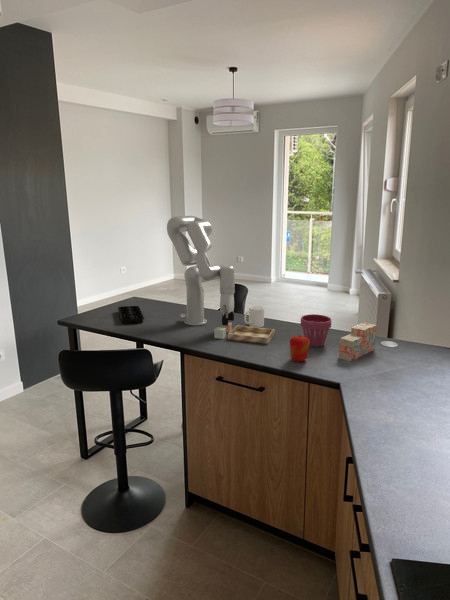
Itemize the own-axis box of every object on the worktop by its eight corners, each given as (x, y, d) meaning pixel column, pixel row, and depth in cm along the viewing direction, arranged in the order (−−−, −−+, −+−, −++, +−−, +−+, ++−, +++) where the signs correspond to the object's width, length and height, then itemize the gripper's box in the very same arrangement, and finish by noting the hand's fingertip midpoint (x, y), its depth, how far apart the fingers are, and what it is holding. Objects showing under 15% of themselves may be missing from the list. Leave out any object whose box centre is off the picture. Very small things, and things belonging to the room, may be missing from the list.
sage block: (214, 338, 212) (214, 329, 211) (217, 335, 216) (217, 326, 215) (222, 339, 210) (223, 330, 209) (225, 336, 214) (225, 327, 213)
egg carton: (137, 310, 263) (137, 304, 262) (154, 322, 237) (153, 316, 236) (108, 313, 254) (108, 307, 254) (122, 327, 229) (122, 320, 228)
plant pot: (295, 345, 202) (297, 319, 198) (303, 337, 214) (305, 312, 211) (326, 350, 196) (328, 323, 193) (332, 341, 208) (334, 316, 205)
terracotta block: (220, 332, 221) (220, 323, 220) (223, 329, 225) (223, 321, 224) (229, 333, 220) (229, 324, 218) (231, 330, 224) (231, 322, 223)
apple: (297, 365, 178) (299, 338, 175) (284, 358, 185) (285, 332, 182) (312, 361, 183) (314, 335, 180) (299, 355, 189) (300, 329, 187)
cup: (266, 326, 231) (267, 308, 229) (248, 329, 225) (249, 311, 223) (258, 322, 238) (258, 305, 236) (240, 325, 232) (240, 307, 230)
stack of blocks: (351, 361, 183) (353, 334, 180) (338, 358, 187) (340, 331, 184) (374, 350, 197) (377, 324, 194) (362, 346, 202) (364, 321, 199)
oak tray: (228, 339, 209) (228, 333, 208) (236, 330, 223) (236, 325, 222) (267, 344, 203) (268, 338, 202) (274, 334, 217) (274, 329, 216)
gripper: (225, 287, 226) (226, 318, 230) (214, 293, 210) (215, 326, 214) (239, 287, 224) (239, 319, 227) (229, 293, 208) (230, 327, 211)
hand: (228, 322), depth 220 cm, fingers open, 9 cm apart
